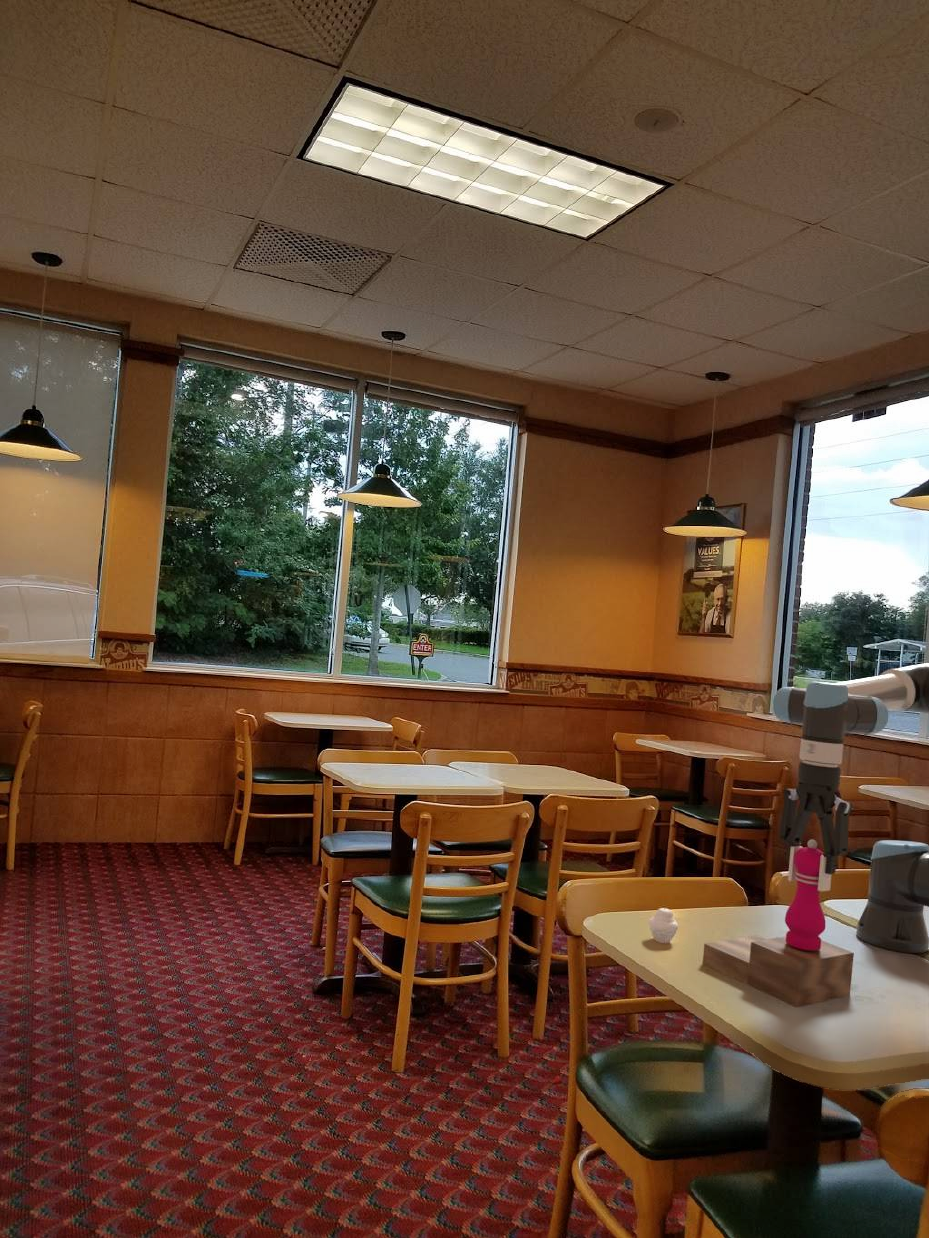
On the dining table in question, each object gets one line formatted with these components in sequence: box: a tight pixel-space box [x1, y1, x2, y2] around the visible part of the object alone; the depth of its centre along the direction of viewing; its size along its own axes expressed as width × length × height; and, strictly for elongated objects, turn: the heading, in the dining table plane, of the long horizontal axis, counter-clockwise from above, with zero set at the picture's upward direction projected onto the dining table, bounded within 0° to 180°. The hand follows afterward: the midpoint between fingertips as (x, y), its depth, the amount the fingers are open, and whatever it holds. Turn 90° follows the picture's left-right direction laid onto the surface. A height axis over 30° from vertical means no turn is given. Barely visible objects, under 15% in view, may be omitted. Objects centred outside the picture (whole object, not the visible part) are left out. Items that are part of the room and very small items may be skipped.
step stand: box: [702, 935, 855, 1008], centre depth 178 cm, size 16×22×8 cm
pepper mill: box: [784, 839, 826, 951], centre depth 174 cm, size 7×7×20 cm
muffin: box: [648, 907, 679, 944], centre depth 195 cm, size 6×6×7 cm
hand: (808, 885), depth 174 cm, fingers closed on pepper mill, 6 cm apart
